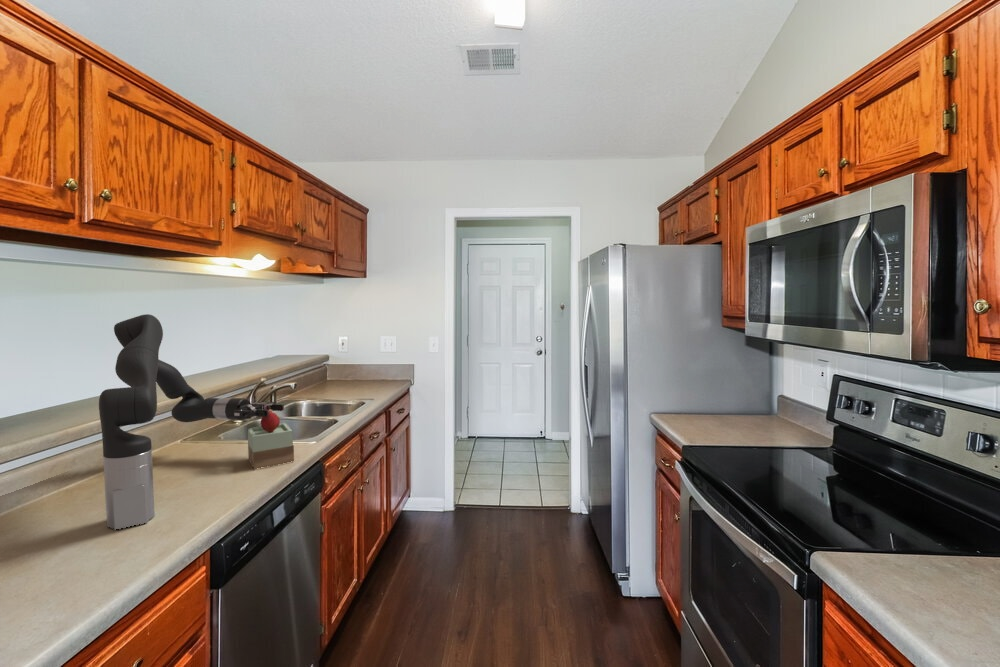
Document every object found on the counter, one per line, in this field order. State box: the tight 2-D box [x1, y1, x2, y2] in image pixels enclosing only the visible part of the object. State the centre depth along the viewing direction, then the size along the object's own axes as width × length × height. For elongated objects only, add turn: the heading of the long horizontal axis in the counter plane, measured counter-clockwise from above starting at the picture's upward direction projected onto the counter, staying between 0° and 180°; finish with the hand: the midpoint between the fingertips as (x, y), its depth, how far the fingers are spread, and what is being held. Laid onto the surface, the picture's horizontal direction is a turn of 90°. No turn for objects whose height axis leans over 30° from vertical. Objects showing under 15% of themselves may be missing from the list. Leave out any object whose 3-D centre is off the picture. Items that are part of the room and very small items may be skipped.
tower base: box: [247, 443, 295, 470], centre depth 155 cm, size 12×12×6 cm
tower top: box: [247, 422, 294, 452], centre depth 155 cm, size 12×12×5 cm
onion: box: [260, 410, 281, 433], centre depth 154 cm, size 6×6×8 cm
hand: (275, 410), depth 154 cm, fingers open, 8 cm apart
